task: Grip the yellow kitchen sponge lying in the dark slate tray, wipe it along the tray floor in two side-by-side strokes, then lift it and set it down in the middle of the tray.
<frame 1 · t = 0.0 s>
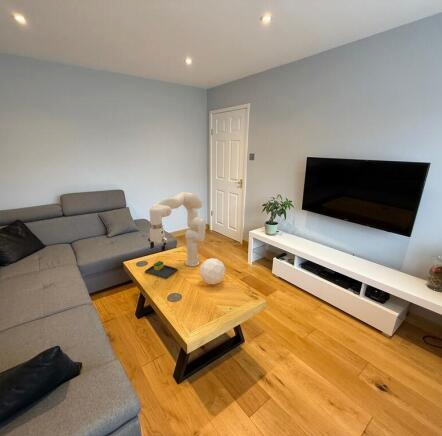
hand: (157, 249, 162), 31 cm above the table, tool pointing down, fingers open, 9 cm apart
sponge: (158, 268, 199), point 1 cm above the table, touching tray
geometric sphere: (212, 282, 180), on the table
tray: (161, 271, 194), on the table
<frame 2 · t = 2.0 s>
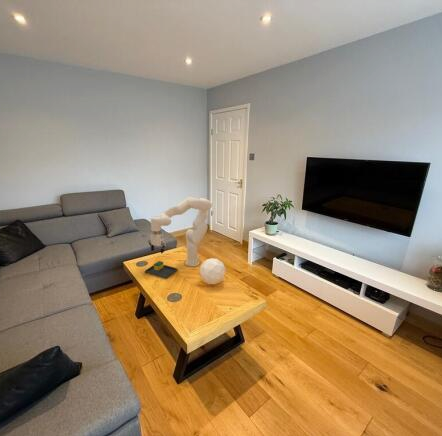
hand: (157, 251, 191), 17 cm above the table, tool pointing down, fingers open, 9 cm apart
nothing on the table moved.
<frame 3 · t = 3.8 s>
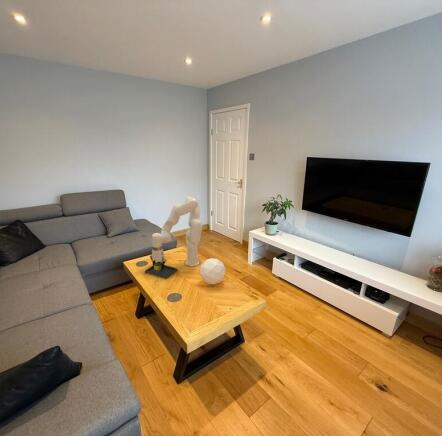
hand: (158, 266, 199), 2 cm above the table, tool pointing down, fingers open, 8 cm apart
nothing on the table moved.
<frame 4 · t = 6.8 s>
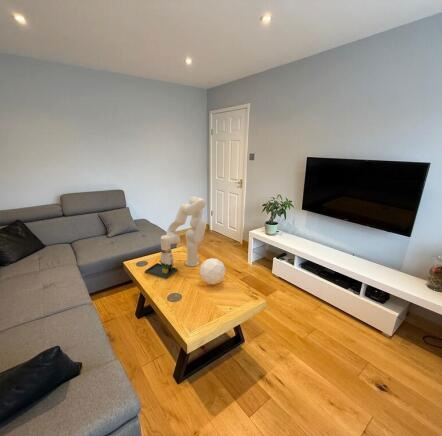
hand: (167, 270, 194), 1 cm above the table, tool pointing down, fingers closed on sponge, 4 cm apart
sponge: (167, 271, 195), point 1 cm above the table, touching gripper
everything else where it was.
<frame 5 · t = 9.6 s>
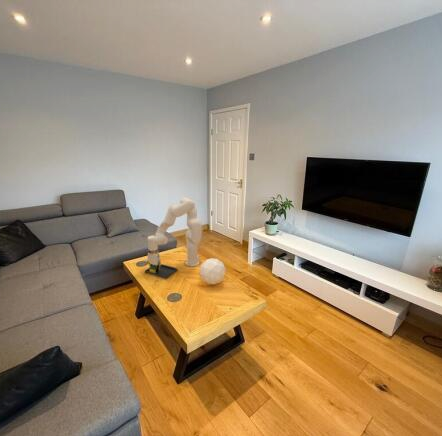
hand: (154, 271, 193), 1 cm above the table, tool pointing down, fingers closed on sponge, 4 cm apart
sponge: (154, 271, 194), point 1 cm above the table, touching gripper
everything else where it was.
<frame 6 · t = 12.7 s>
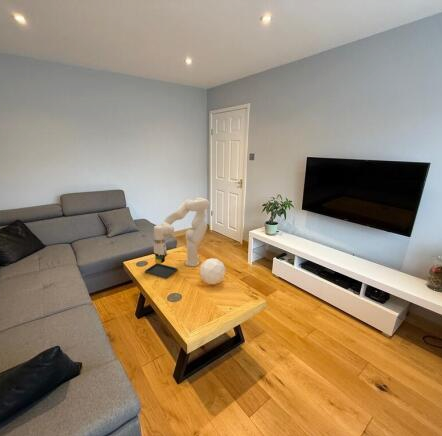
hand: (160, 261, 192), 10 cm above the table, tool pointing down, fingers closed on sponge, 4 cm apart
sponge: (160, 261, 192), point 9 cm above the table, touching gripper
everything else where it was.
when the fingers open (1 cm above the table, at t = 15.1 s): sponge stays where it is, resting on tray.
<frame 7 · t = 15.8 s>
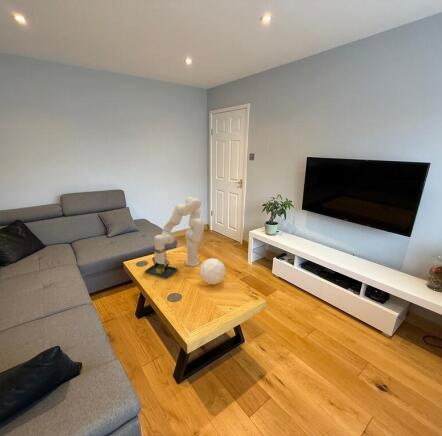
hand: (161, 269, 194), 2 cm above the table, tool pointing down, fingers open, 9 cm apart
sponge: (161, 271, 194), point 1 cm above the table, touching tray
everything else where it was.
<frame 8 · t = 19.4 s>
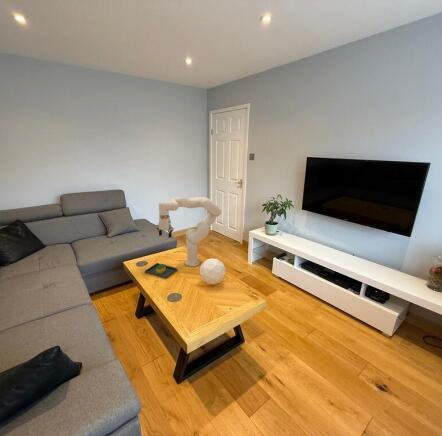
hand: (165, 236, 195), 28 cm above the table, tool pointing down, fingers open, 9 cm apart
nothing on the table moved.
at the end: sponge inside the target area in the tray (0.2 cm from its centre), point 0.6 cm above the tray's base; sponge tilted 0°; the gripper is holding nothing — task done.
